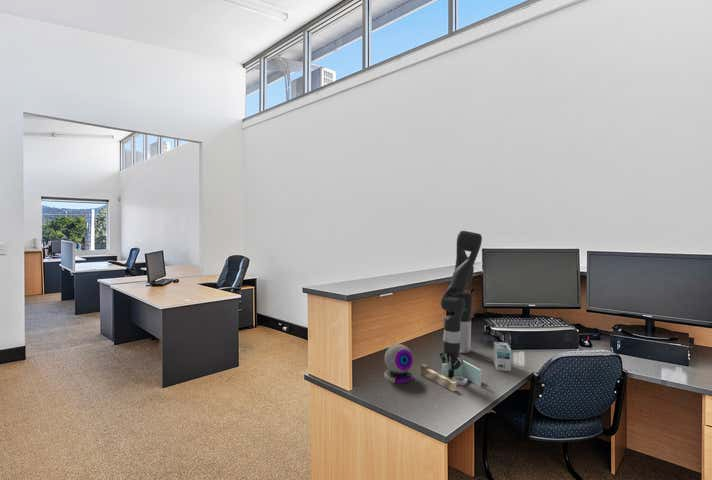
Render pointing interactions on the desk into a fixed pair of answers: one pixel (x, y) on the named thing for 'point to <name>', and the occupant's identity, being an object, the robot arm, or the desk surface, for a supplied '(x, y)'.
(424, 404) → the desk surface
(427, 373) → the rack
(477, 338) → the desk surface
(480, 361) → the desk surface
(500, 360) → the light bulb box
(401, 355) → the webcam
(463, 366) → the right angle wall
